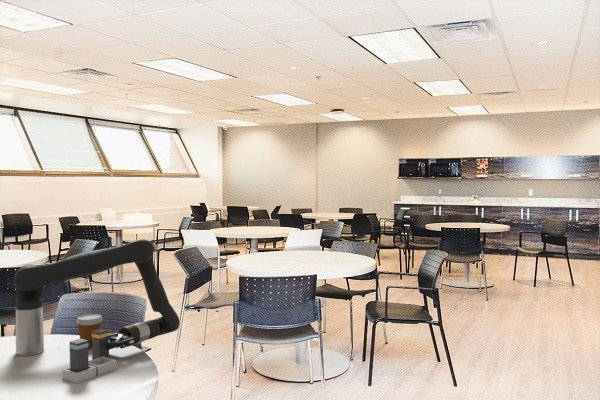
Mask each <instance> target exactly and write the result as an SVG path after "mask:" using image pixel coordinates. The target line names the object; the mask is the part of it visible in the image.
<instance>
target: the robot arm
mask: <svg viewBox="0 0 600 400" xmlns="http://www.w3.org/2000/svg"><path fill="white" fill-rule="evenodd" d="M154 247H155V246H154V245H153V244H152V242H151V241H149V240H147V239H145V238H139V239H136V240H134V241H131V242H128V243H125V244H122V245H119V246H115V247H108V248H102V249H101V248H100V249H95V250H89V251H86V252H80V253H77V254H73V255H70V256H68V257H65V258H63V259H60V260H59V261H56V262H53V263H49V264H48V263H47V264H43V265H35V264H31V263H29V264H25V265H22V266H20V268H18V270H17V271H16V272H15V275H14V278H13V283H14V285H15V325H16V326H15V352H16V355H17V356H21V357H22V356H23V357H26V356H28V357H29V356H34V355H35V356H36V355H39V354H41V353H44V350H45V345H44V344H45V341H44V340H45V339H44V338H45V337H44V335H45V334H44V303H43V302H44V287H45V286H48V285H52V284H54V283H55V284H56V283H59V282H64V281H70V280H73V279H74V280H75V279H80V278H85V277H88V276H93V275H96V274H100V273H103V272H106V271H108V270H111V269H113V268H115V267H119V266H122V265H126V264H133V263H134V264H135V265H136V267H137V269H138V272H139V273H140V274H139V275H140V276H141V279H142V282H143V285H144V288H145V292H146V294H147V295H146V296H147V299H148V301H149V304H150V306H151V309H152V311H153V312H155V313H159V314H160V315H161V316H160V317H157V318H154V319H150V320H146V321H141V322H137V323H133V324H129V325H126V326H122V327H121V328H120V329H119V330H118V332H113V333H112V331H109V343H107V344H105V350H109V351H110V350H113V349H125V348H128V347H132V346H134V345H137V344H141V343H144V342H145V341H148V340H151V339H153V338H155V337H159V336H162V335H167V334H170V333H173V332H176V331H178V330H179V328H180V324H181V323H180V317H179V316H178V313H177V312H176V310H175V309H174V307H173V306H172V305H171V303H170V302H169V298H168V295H167V292H166V290H165V287H164V285H163V283H162V281H161V279H160V277H159V275H158V272H157V270H156V265H155V262H154V258H153V255H154V252H155V248H154ZM90 346H92V340H90Z"/></svg>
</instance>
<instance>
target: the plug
mask: <svg viewBox="0 0 600 400" xmlns="http://www.w3.org/2000/svg"><path fill="white" fill-rule="evenodd" d="M109 332H110V331H109V329H104V328H101V329H98V330H94V331H92V349H91V354H92V356H91V357H92V358H91V360H94V359H97V358H100V357H107V358H110V350H105V344H107V343H109Z"/></svg>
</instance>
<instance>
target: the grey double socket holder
mask: <svg viewBox="0 0 600 400" xmlns="http://www.w3.org/2000/svg"><path fill="white" fill-rule="evenodd" d="M116 370H118V367H117V360H116V359H113V358H110V357H109V358H107V357H100V358H97V359H94V360H92V359H91V360H89V369H86V370H83V371H81V372H78V373H76V372H73V371H70V366H69V367H66V368H63V369H62V378H61V380H63V381H66V382H68V383H71V384H74V385H78V384H80V383H83V382H86V381H89V380H92V379H94V378H97V377H99V376H103V375H106V374H108V373H111V372H113V371H116Z"/></svg>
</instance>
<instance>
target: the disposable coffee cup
mask: <svg viewBox="0 0 600 400" xmlns="http://www.w3.org/2000/svg"><path fill="white" fill-rule="evenodd" d="M102 321H103V318H102V315H101V314H96V313H93V314H92V313H88V314H84V315H79V316H78V317H77V320H76V324H77V327H78V334H79V339H84V340H88V351H89V350H92V346H90V340H92V331H94V330H98V329H102Z"/></svg>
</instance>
